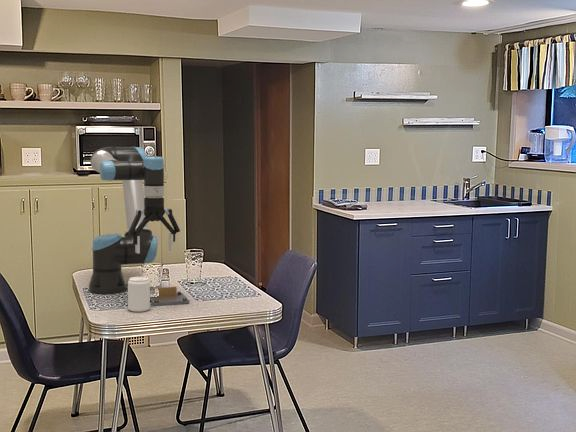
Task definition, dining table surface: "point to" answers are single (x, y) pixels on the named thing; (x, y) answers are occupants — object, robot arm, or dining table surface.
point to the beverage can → (138, 294)
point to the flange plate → (169, 297)
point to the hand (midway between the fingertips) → (154, 251)
